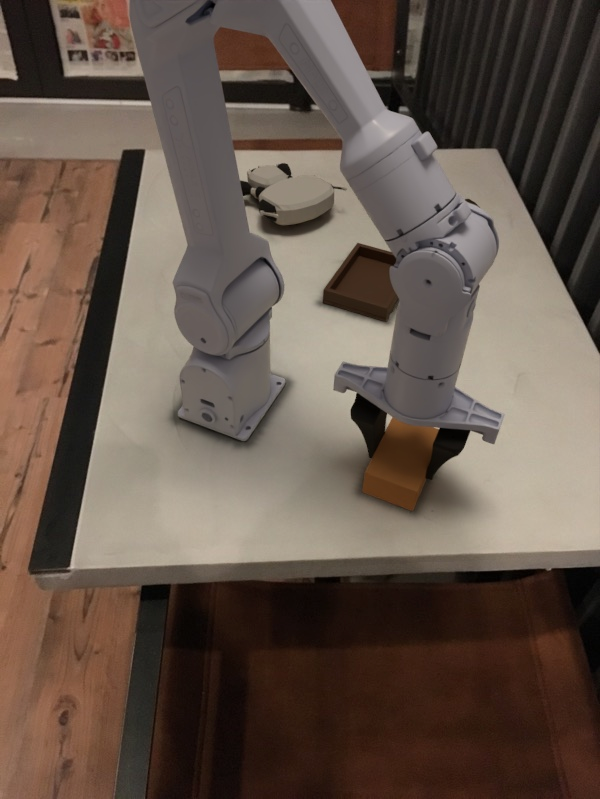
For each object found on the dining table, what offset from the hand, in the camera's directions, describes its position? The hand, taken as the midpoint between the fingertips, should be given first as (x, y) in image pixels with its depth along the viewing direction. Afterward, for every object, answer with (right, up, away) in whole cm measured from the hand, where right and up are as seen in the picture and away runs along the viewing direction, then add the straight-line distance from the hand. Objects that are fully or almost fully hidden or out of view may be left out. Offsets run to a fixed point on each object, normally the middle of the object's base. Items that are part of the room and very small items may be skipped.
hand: (403, 461), depth 65 cm
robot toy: (-12, +33, +34) cm, 49 cm away
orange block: (0, -1, +1) cm, 1 cm away
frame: (-1, +20, +21) cm, 29 cm away
